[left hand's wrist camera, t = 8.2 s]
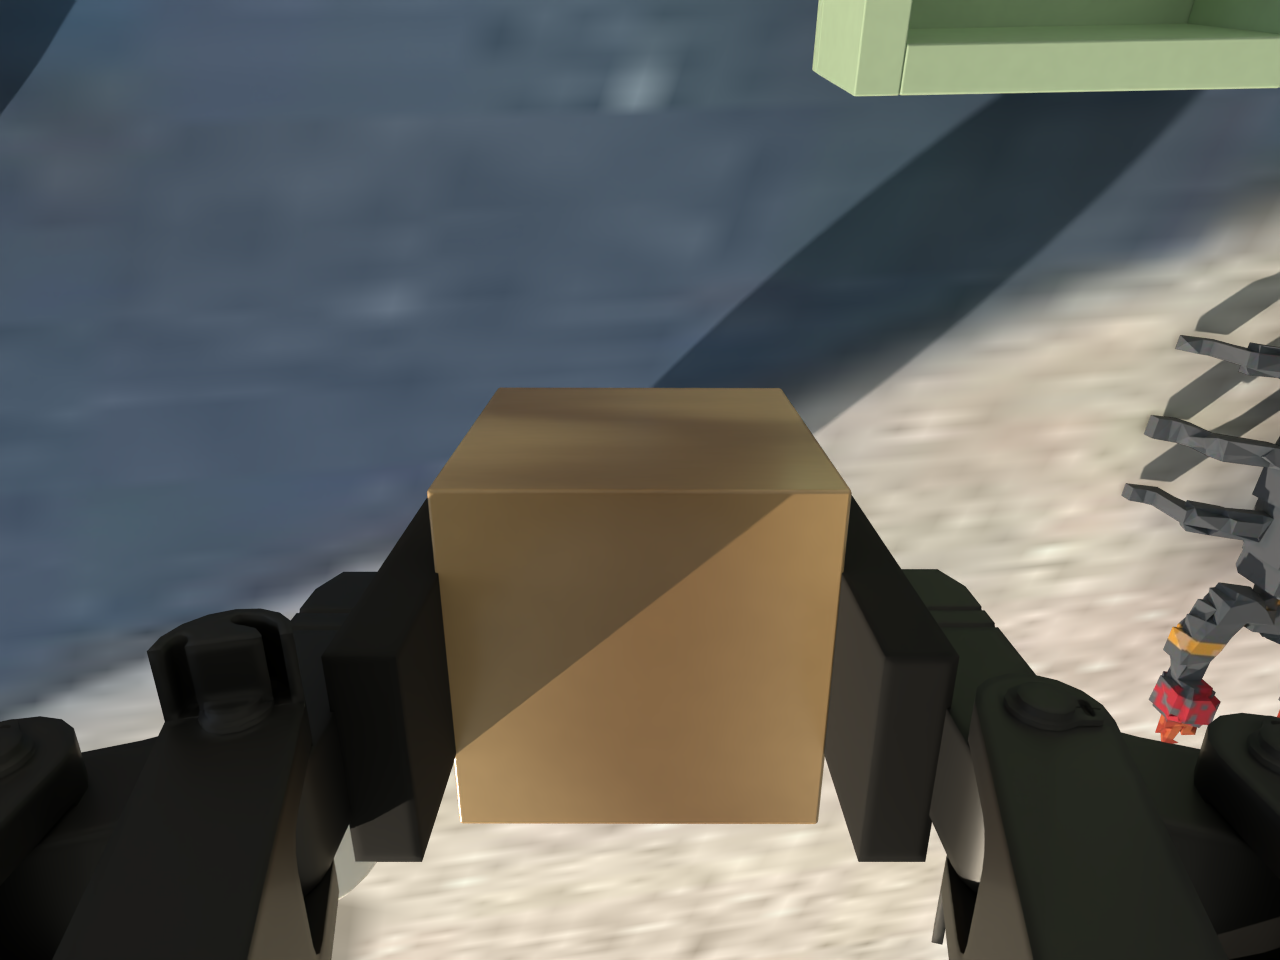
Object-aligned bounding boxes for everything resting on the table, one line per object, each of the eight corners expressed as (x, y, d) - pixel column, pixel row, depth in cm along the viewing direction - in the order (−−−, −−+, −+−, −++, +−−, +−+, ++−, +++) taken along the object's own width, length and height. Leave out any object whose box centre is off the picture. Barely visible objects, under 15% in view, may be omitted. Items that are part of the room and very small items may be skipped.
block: (513, 633, 16) (458, 824, 11) (497, 386, 14) (425, 490, 9) (765, 633, 16) (819, 826, 11) (781, 387, 14) (853, 490, 9)
